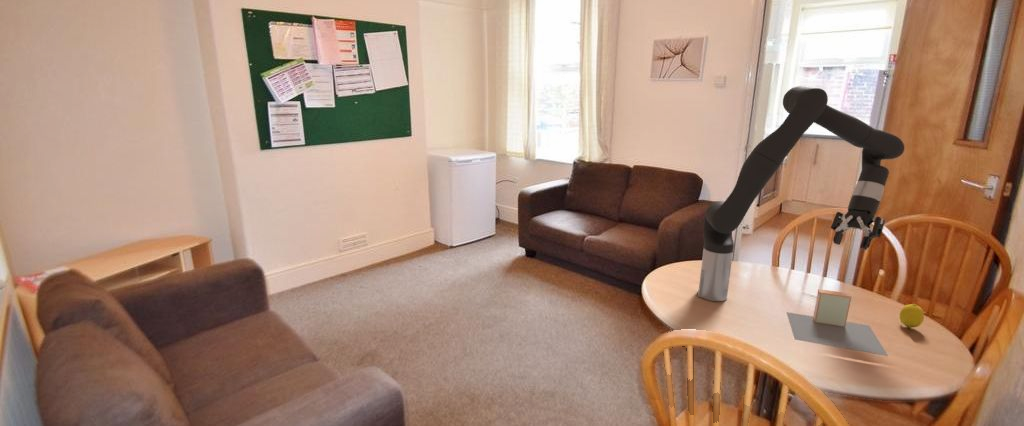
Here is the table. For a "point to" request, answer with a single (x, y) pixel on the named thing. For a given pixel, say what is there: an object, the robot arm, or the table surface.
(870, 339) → the mat
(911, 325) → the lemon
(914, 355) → the table surface
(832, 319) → the tile
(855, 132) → the robot arm
